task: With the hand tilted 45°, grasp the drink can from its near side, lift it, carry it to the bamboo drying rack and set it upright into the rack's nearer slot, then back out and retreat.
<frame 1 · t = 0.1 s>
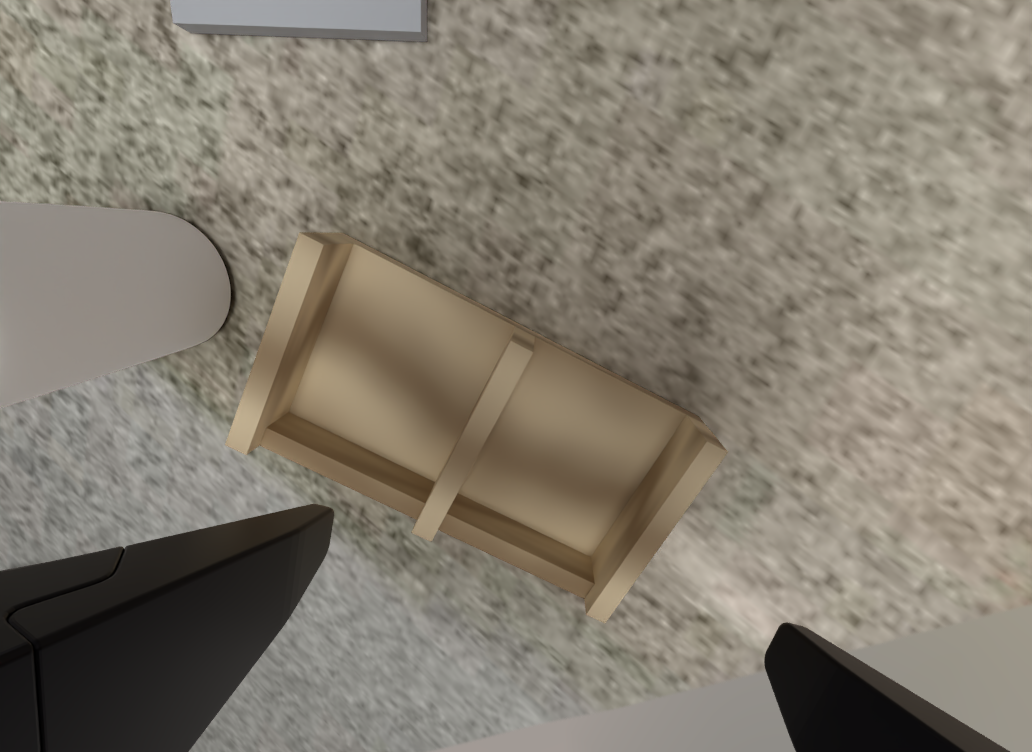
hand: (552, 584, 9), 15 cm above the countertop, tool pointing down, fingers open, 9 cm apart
rack: (480, 414, 24), on the countertop
can: (174, 280, 23), on the countertop
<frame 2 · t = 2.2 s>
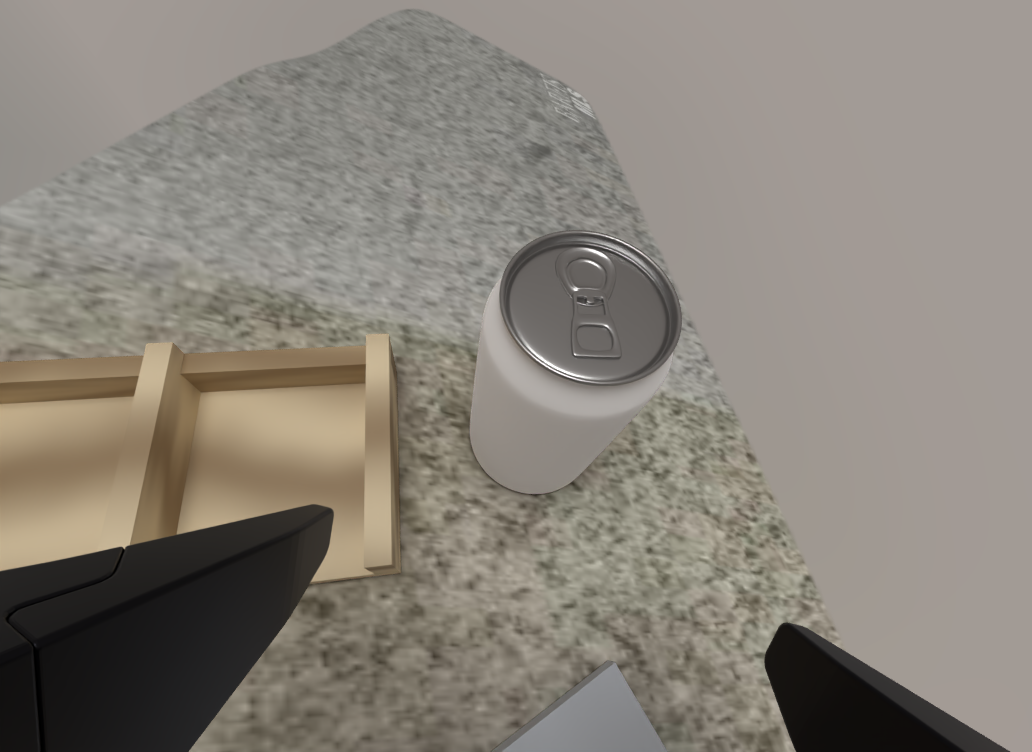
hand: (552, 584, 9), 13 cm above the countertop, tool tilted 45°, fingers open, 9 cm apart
rack: (185, 482, 22), on the countertop
can: (530, 435, 25), on the countertop
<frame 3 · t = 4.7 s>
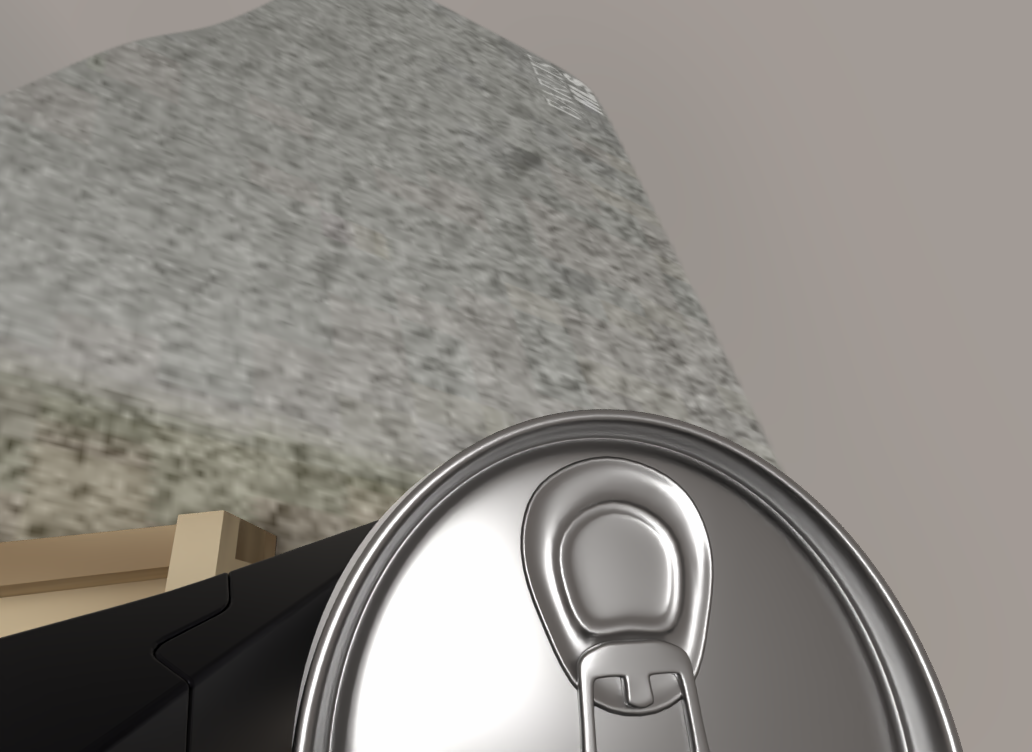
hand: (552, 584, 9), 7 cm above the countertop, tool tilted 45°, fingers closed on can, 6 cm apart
can: (501, 648, 15), on the countertop, touching gripper
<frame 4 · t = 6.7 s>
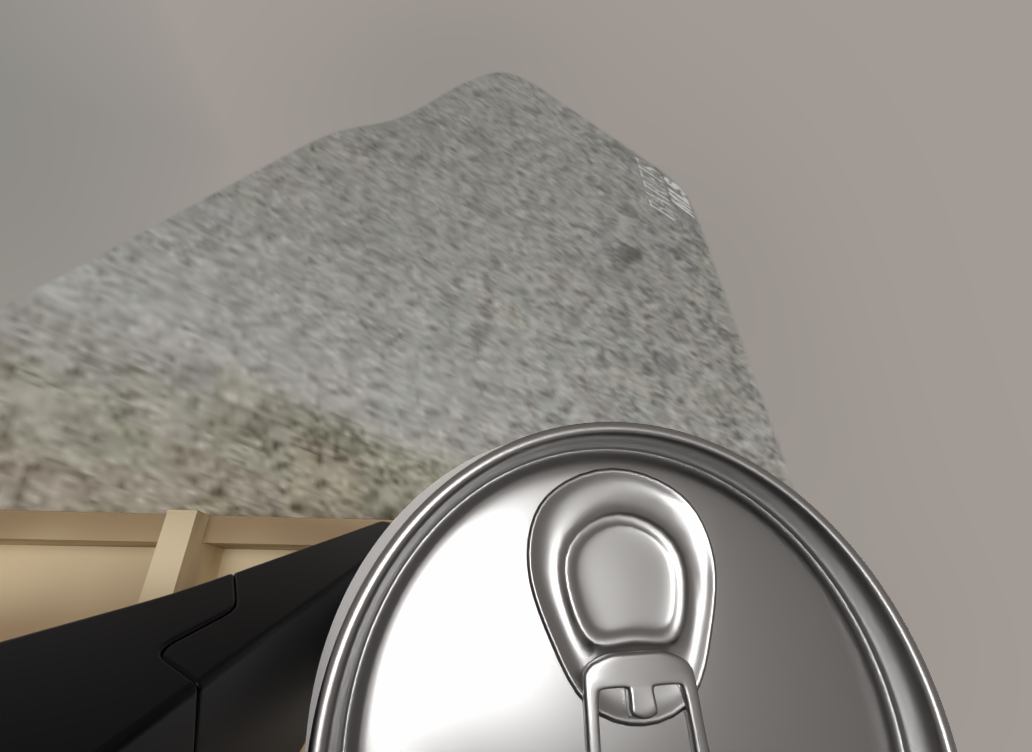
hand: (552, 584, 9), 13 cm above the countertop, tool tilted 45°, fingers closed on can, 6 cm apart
rack: (193, 659, 19), on the countertop
can: (506, 640, 15), point 6 cm above the countertop, touching gripper
when the fingers open (9 cm above the countertop, at t = 8.7 s): can stays where it is, resting on rack.
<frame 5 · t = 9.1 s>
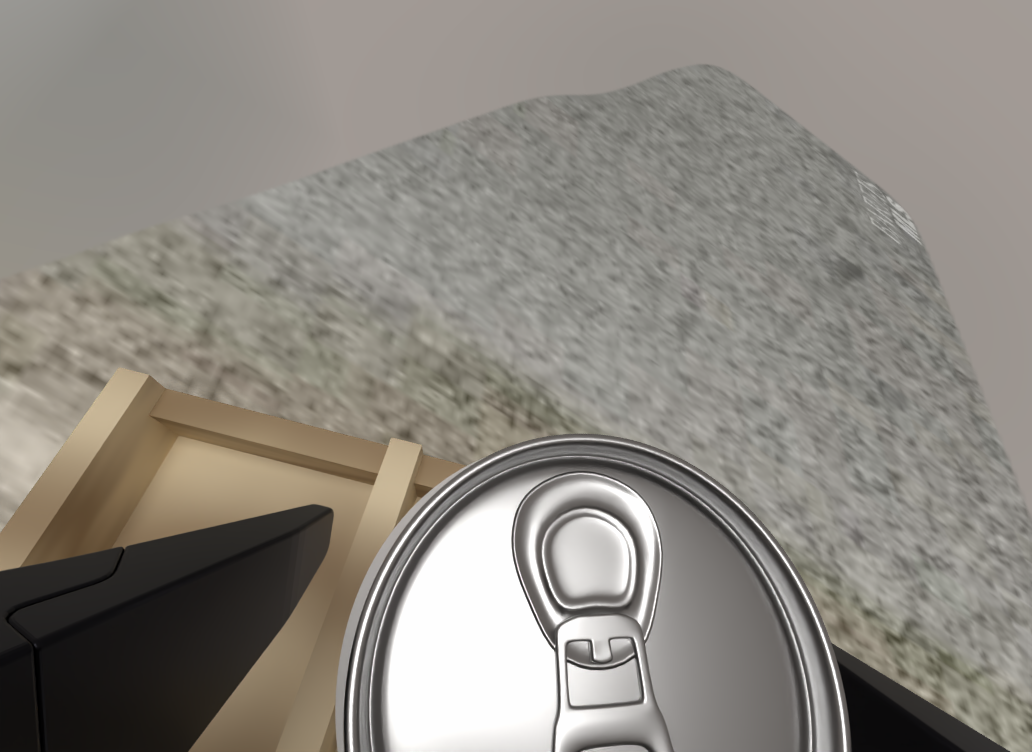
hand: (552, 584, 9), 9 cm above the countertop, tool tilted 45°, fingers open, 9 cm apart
rack: (368, 611, 17), on the countertop
can: (501, 637, 16), point 1 cm above the countertop, touching rack
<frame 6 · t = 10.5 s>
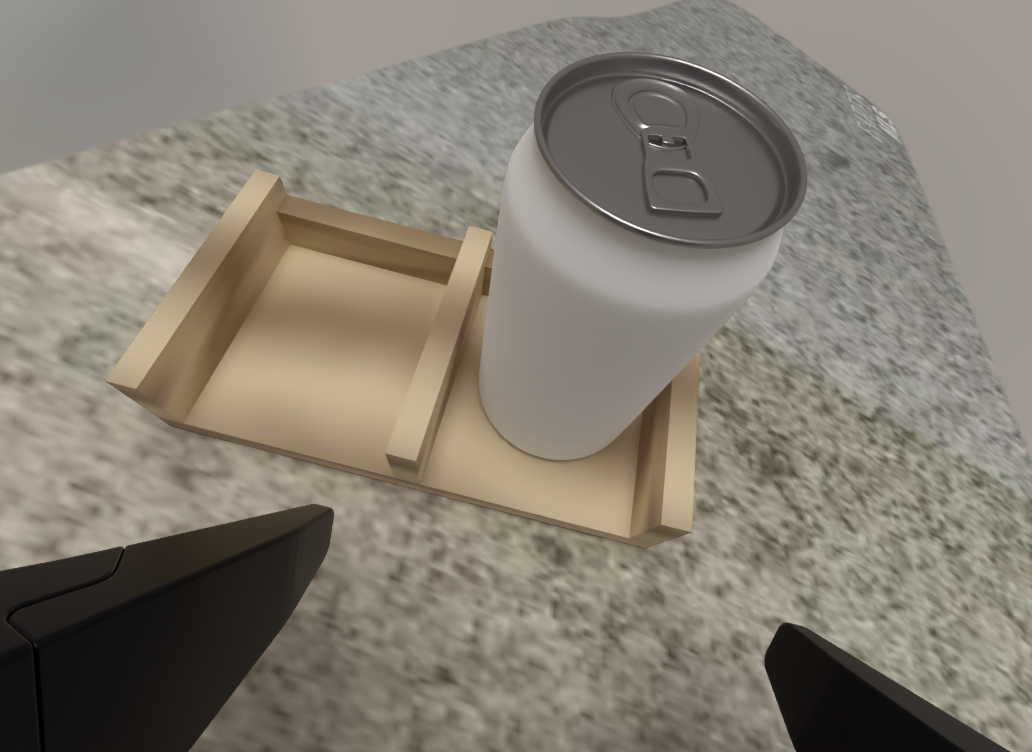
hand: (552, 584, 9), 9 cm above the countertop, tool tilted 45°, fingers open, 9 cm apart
rack: (446, 376, 21), on the countertop
can: (553, 391, 20), point 1 cm above the countertop, touching rack
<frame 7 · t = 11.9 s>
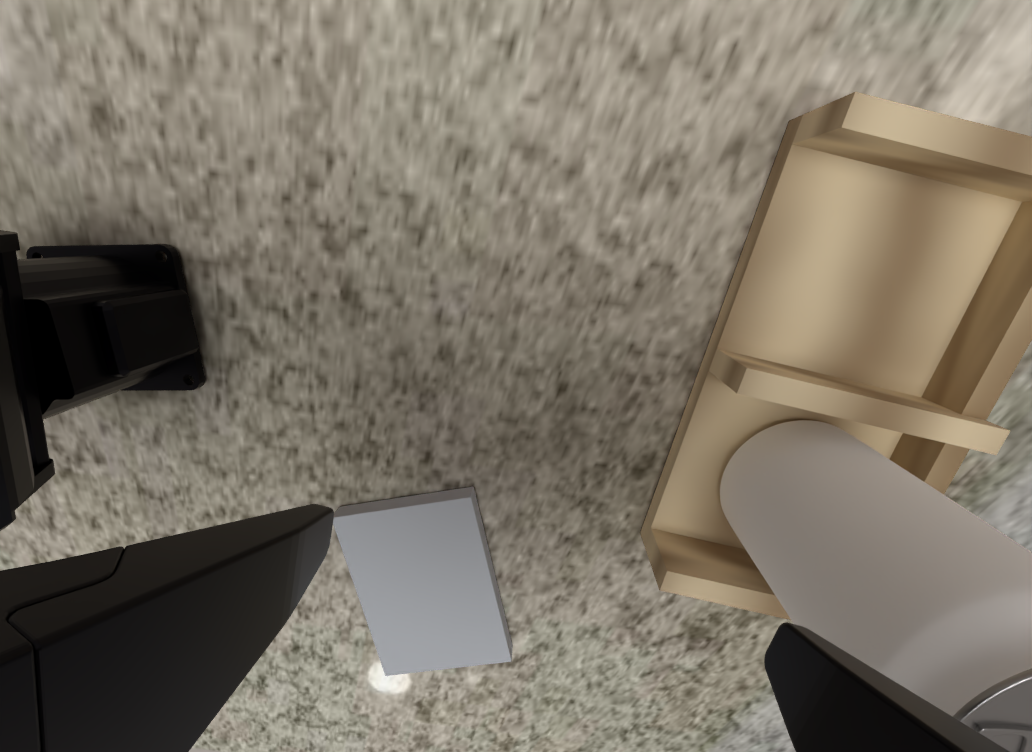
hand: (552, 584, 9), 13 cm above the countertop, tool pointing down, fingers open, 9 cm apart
rack: (813, 379, 21), on the countertop
can: (786, 480, 22), point 1 cm above the countertop, touching rack
block: (429, 579, 25), on the countertop
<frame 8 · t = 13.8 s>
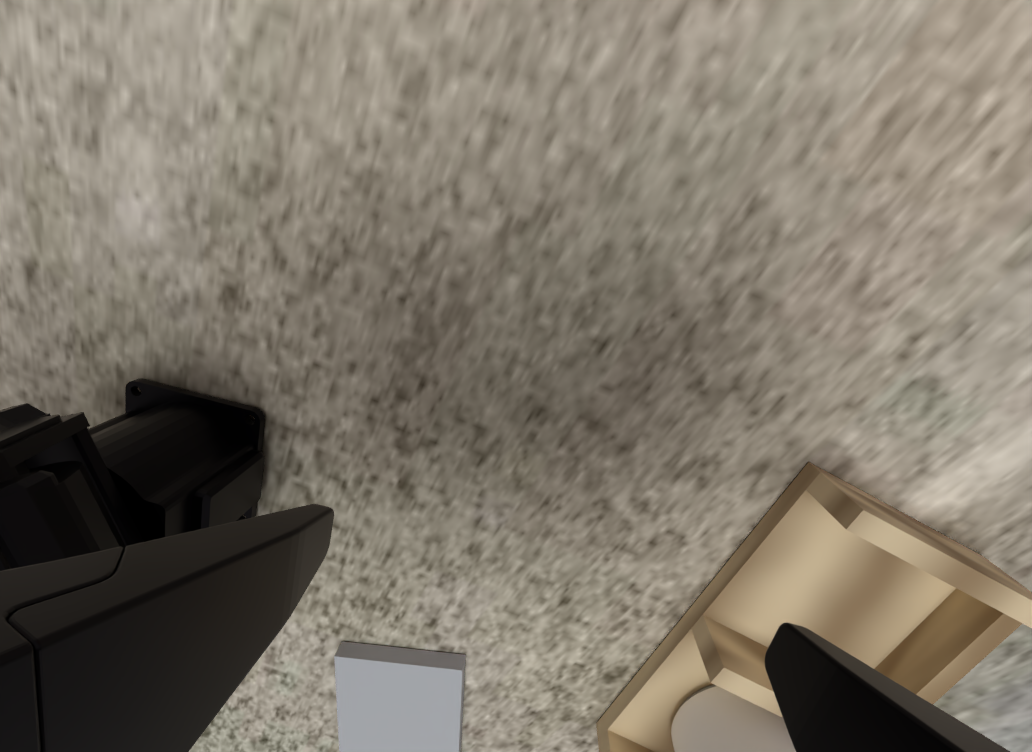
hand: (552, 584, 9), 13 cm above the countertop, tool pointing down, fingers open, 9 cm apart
rack: (772, 647, 25), on the countertop
can: (729, 720, 26), point 1 cm above the countertop, touching rack
block: (403, 715, 28), on the countertop
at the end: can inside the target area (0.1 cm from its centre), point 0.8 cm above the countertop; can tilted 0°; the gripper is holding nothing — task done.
